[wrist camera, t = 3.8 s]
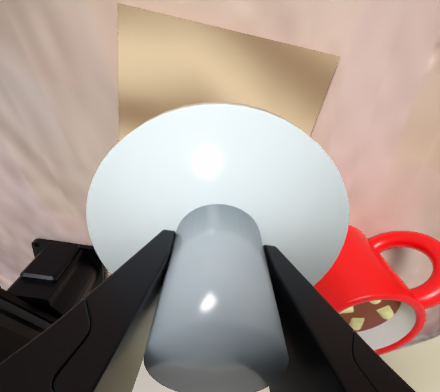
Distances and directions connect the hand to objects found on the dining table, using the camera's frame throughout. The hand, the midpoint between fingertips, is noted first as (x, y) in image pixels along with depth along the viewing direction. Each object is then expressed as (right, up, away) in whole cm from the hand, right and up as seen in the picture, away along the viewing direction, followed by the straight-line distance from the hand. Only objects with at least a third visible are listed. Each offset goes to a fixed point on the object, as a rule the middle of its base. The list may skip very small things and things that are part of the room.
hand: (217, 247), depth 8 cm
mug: (+13, -3, +16) cm, 21 cm away
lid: (0, +1, +1) cm, 1 cm away
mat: (0, +6, +10) cm, 12 cm away
